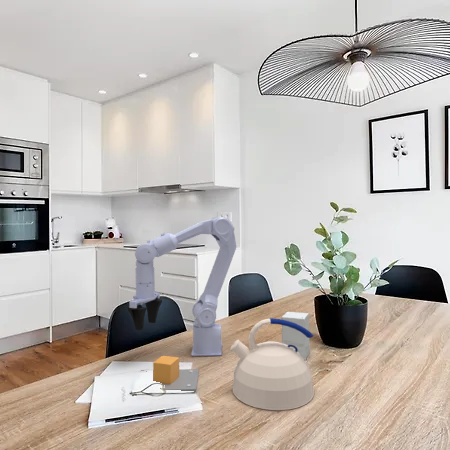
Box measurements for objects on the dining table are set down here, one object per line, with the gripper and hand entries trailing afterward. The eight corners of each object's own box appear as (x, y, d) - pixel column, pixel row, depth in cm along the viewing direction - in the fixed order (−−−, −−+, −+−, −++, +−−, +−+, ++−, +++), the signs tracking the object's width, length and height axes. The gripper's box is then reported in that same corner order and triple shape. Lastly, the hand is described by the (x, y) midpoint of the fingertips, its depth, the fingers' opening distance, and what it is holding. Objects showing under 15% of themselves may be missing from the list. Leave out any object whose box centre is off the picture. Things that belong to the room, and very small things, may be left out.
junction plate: (198, 372, 101) (198, 356, 101) (196, 393, 89) (195, 374, 89) (141, 373, 101) (141, 357, 101) (131, 394, 89) (130, 376, 89)
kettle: (231, 373, 101) (230, 308, 101) (306, 373, 100) (305, 308, 100) (230, 411, 81) (229, 331, 81) (323, 411, 80) (322, 330, 80)
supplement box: (310, 352, 116) (310, 313, 116) (305, 360, 109) (304, 318, 109) (287, 349, 119) (287, 310, 119) (281, 357, 112) (281, 316, 112)
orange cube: (162, 373, 98) (162, 355, 98) (179, 376, 97) (179, 357, 97) (153, 381, 94) (153, 362, 94) (170, 384, 92) (170, 364, 92)
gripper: (146, 278, 121) (146, 318, 121) (120, 286, 107) (121, 331, 107) (165, 279, 119) (165, 320, 119) (141, 287, 105) (141, 333, 105)
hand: (145, 325), depth 113 cm, fingers open, 7 cm apart
